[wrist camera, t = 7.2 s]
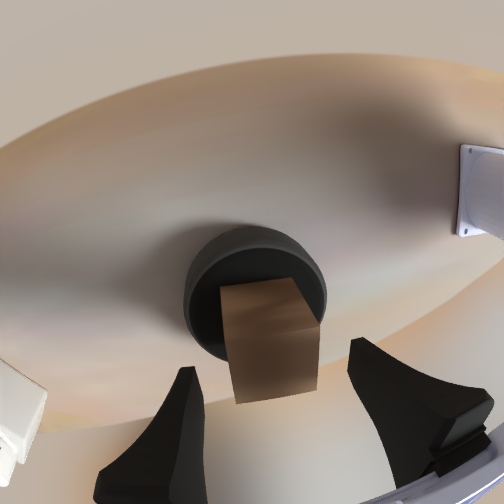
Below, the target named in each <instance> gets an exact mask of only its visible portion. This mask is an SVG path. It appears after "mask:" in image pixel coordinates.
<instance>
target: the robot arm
mask: <svg viewBox="0 0 504 504" xmlns="http://www.w3.org/2000/svg"><path fill="white" fill-rule="evenodd" d="M464 230H465V231H464ZM483 233H489V234H492V235H494V236H496V237H498V238H500V239H502V240H504V150H503V149H497V148H490V147H483V146H475V145H467V144H463V145H462V146H461V149H460V194H459V209H458V220H457V230H456V234H457V235H458V236H459V237H466V236H472V235H477V234H483ZM347 372H348V374H349V377H350V380H351V382H352V385H353V387H354V389H355V391H356V393H357V394H358V396H359V398H360V400H361V402H362V403H363V405H364V407H365V409H366V410H367V412H368V414H369V416H370V417H371V419H372V421H373V423H374V425H375V427H376V429H377V431H378V434H379V436H380V439H381V441H382V444H383V446H384V449H385V452H386V455H387V458H388V461H389V464H390V467H391V470H392V474H393V477H394V481H395V485H396V490H394V491H392V492H389V493H387V494H384V495H382V496H379V497H377V498H374V499H371V500H369V501H366V502H363V503H360V504H472V503H474V502H475V501H477V500H478V499H479V498H481V497H482V496H484V495H485V494H486V493H487V492H489V491H490V490H491V489H493V488H494V487H495V486H497V485H498V484H499V483H500V482H502V481H503V480H504V422H503V423H502V424H501V425H499V426H498V427H497V428H495V429H494V430H492V431H491V432H490V433H489V434H488V435H486V434H485V432H484V431H485V430H486V427H485V426H484V424H483V423H484V422H485V420H486V418H487V417H488V415H489V414H490V412H491V410H492V408H493V406H494V399H493V398H492V397H491V396H490V395H489V394H488V393H487V391H486V390H485V389H482V388H474V387H466V386H462V385H457V384H453V383H449V382H445V381H442V380H439V379H436V378H434V377H431V376H428V375H426V374H424V373H421V372H419V371H417V370H415V369H413V368H411V367H409V366H408V365H406V364H404V363H402V362H400V361H399V360H397V359H395V358H394V357H392V356H391V355H389V354H387V353H386V352H384V351H383V350H381V349H380V348H378V347H377V346H375V345H374V344H373V343H371V342H370V341H368V340H367V339H365V338H364V337H361V338H357V339H352V340H351V345H350V354H349V361H348V369H347ZM204 419H205V414H204V399H203V394H202V391H201V387H200V384H199V380H198V377H197V373H196V370H195V366H191V367H181V368H180V369H179V371H178V374H177V376H176V379H175V381H174V383H173V385H172V387H171V389H170V391H169V393H168V395H167V397H166V399H165V401H164V402H163V404H162V406H161V407H160V409H159V411H158V412H157V414H156V415H155V417H154V419H153V420H152V421H151V423H150V424H149V425H148V427H147V428H146V430H145V431H144V432H143V433H142V434H141V436H139V438H138V439H137V440H136V441H135V442H134V443H133V444H132V445H131V446H130V447H129V448H128V449H127V450H126V451H125V452H124V453H123V454H122V455H121V456H119V457H118V458H117V459H116V460H115V461H114V462H112V463H111V464H109V465H108V466H107V467H105V468H104V469H102V470H101V471H99V474H98V477H97V480H96V485H95V490H94V495H93V499H94V501H95V502H96V503H97V504H208V502H207V495H206V486H205V477H204V466H203V444H204V421H205V420H204Z"/></svg>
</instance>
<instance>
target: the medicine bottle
mask: <svg viewBox="0 0 504 504" xmlns="http://www.w3.org/2000/svg"><path fill="white" fill-rule="evenodd" d="M46 397H47V390H46V389H44V388H43V387H41V386H39V385H38V384H36V383H35V382H33V381H32V380H30V379H28V378H27V377H25V376H24V375H22V374H21V373H19V372H18V371H16V370H15V369H14V368H12V367H11V366H9V365H8V364H7V363H5V362H4V361H2V360H1V359H0V486H1V487H5V486H8V484H9V481H10V478H11V475H12V472H13V469H14V467H15V464H16V461H17V462H19V463H21V464H24V463H25V460H26V458H27V455H28V452H29V450H30V447H31V444H32V442H33V439H34V437H35V434H36V432H37V429H38V427H39V424H40V422H41V418H42V414H43V409H44V405H45V401H46Z"/></svg>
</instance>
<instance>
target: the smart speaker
mask: <svg viewBox="0 0 504 504" xmlns="http://www.w3.org/2000/svg"><path fill="white" fill-rule="evenodd" d="M289 277H292V279H293V280H294V282H295V284H296V286H297V287H298V289H299V291H300V292H301V294H302V296H303V297H304V299H305V301H306V303H307V304H308V306H309V308H310V309H311V311H312V313H313V315H314V316H315V318H316V320H317V322H318V323H319V325H320V324H321V322H322V319H323V317H324V313H325V310H326V303H327V290H326V284H325V281H324V278H323V275H322V273H321V271H320V269H319V267H318V266H317V264H316V263H315V262H314V260H313V259H312V258H311V257H310V255H309V254H308V253H307V252H306V251H305V250H304V248H303V247H302V246H301V245H300V244H299V243H297V242H296V241H295V240H294V239H292V238H291V237H289V236H287V235H286V234H284V233H281V232H279V231H276V230H273V229H268V228H262V227H248V228H241V229H236V230H233V231H230V232H227V233H225V234H223V235H221V236H219V237H217V238H216V239H214V240H213V241H211V242H210V243H209V244H208V245H206V246H205V247H204V248H203V249H202V250H201V252H200V253H199V254H198V255H197V257H196V258H195V260H194V261H193V263H192V265H191V267H190V270H189V273H188V276H187V280H186V286H185V293H184V316H185V320H186V324H187V326H188V329H189V331H190V332H191V334H192V336H193V337H194V339H195V340H196V341H197V342H198V344H199V345H200V346H201V347H202V348H203V349H205V350H206V351H207V352H209V353H210V354H212V355H213V356H215V357H217V358H219V359H221V360H224V361H226V362H228V357H227V352H226V346H225V339H224V328H223V317H222V306H221V294H220V287H222V286H230V285H238V284H246V283H253V282H260V281H268V280H275V279H282V278H289Z"/></svg>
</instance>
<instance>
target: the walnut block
mask: <svg viewBox="0 0 504 504" xmlns="http://www.w3.org/2000/svg"><path fill="white" fill-rule="evenodd" d="M220 294H221V306H222V317H223V328H224V339H225V346H226V352H227V357H228V363H229V369H230V374H231V379H232V385H233V390H234V395H235V400H236V404H241V403H248V402H255V401H261V400H268V399H274V398H280V397H285V396H290V395H296V394H300V393H305V392H310V391H315V390H317V376H318V361H319V342H320V325H319V323H318V322H317V320H316V318H315V316H314V315H313V313H312V311H311V309H310V308H309V306H308V304H307V303H306V301H305V299H304V297H303V296H302V294H301V292H300V291H299V289H298V287H297V286H296V284H295V282H294V280H293V279H292V277H289V278H282V279H275V280H268V281H260V282H253V283H246V284H238V285H230V286H222V287H220Z"/></svg>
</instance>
